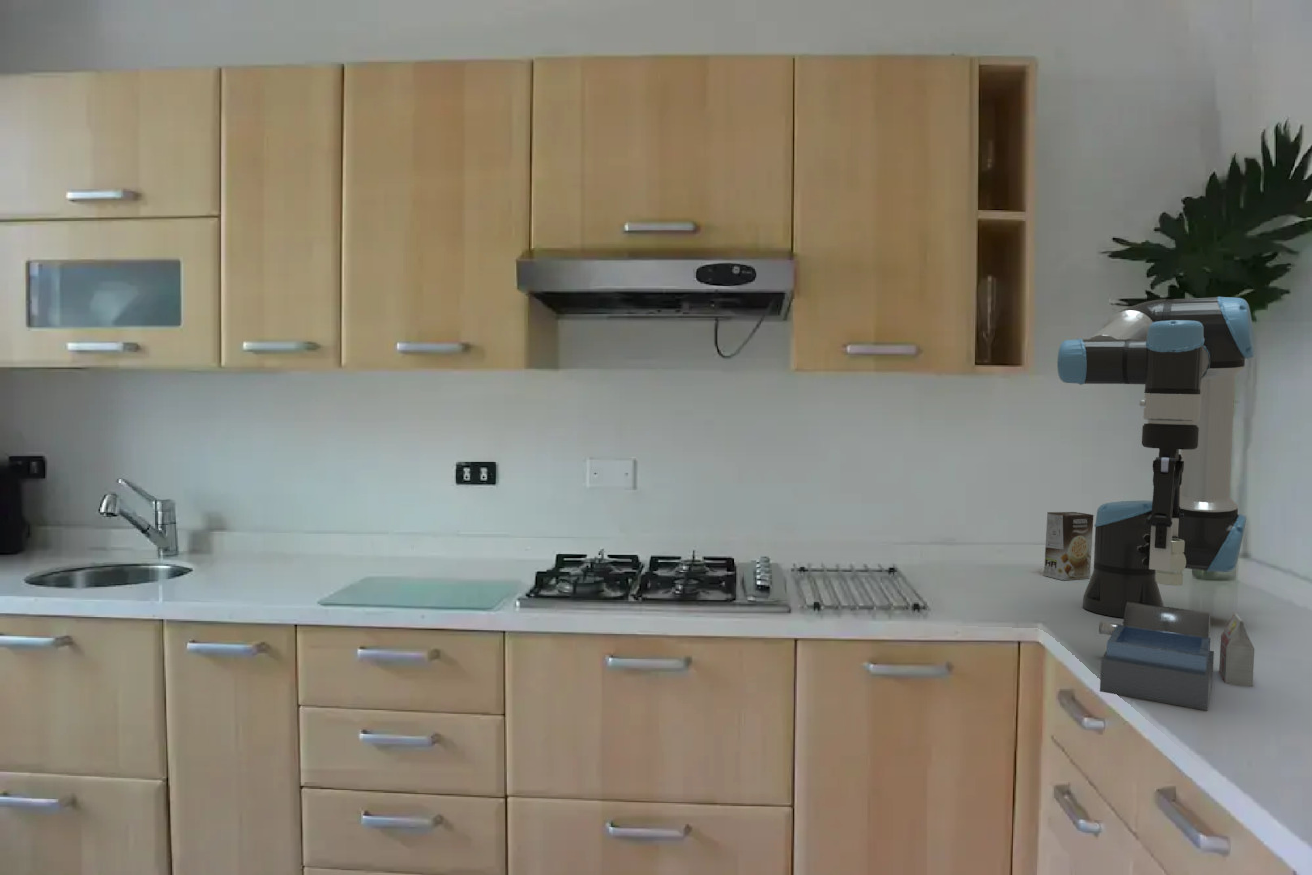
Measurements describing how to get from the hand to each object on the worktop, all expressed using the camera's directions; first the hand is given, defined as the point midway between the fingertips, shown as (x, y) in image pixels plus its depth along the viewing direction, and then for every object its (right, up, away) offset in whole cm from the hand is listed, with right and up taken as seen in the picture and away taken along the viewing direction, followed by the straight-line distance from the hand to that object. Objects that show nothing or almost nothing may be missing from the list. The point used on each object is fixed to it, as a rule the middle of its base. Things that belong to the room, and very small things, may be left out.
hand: (1163, 564), depth 142 cm
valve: (0, -2, 0) cm, 2 cm away
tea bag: (+15, -20, +6) cm, 25 cm away
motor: (+1, -19, +6) cm, 20 cm away
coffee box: (+24, -16, +88) cm, 92 cm away
